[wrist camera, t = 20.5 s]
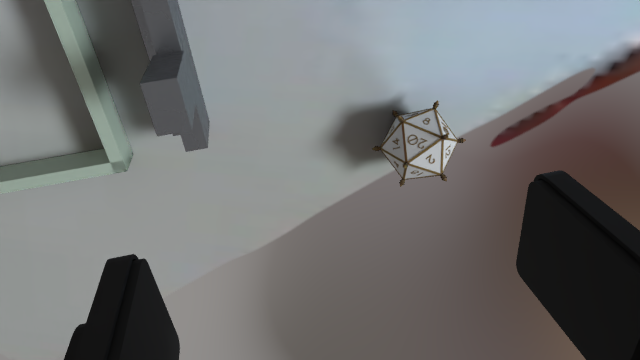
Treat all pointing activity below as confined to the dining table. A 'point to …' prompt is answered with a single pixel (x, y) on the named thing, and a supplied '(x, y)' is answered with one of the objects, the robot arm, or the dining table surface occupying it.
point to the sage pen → (99, 106)
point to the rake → (171, 74)
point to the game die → (419, 144)
